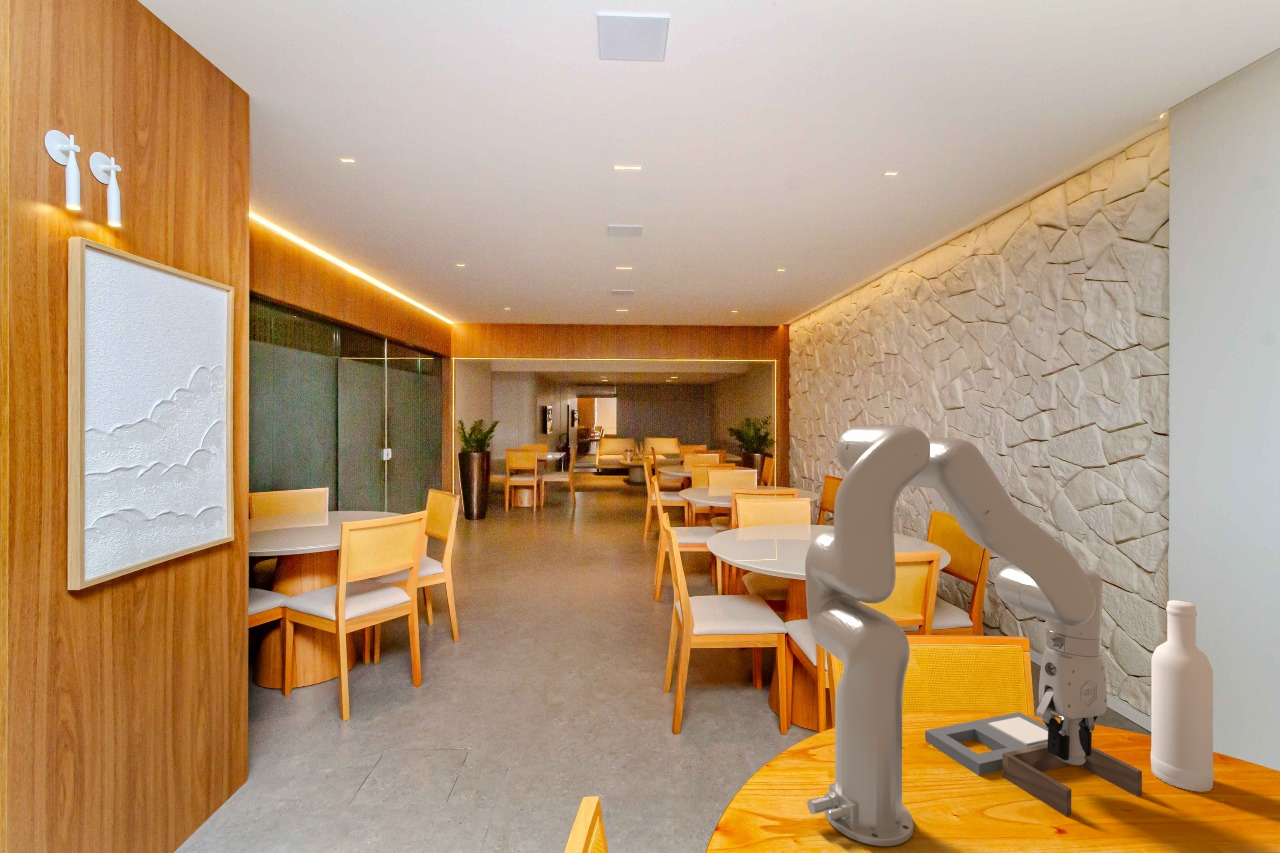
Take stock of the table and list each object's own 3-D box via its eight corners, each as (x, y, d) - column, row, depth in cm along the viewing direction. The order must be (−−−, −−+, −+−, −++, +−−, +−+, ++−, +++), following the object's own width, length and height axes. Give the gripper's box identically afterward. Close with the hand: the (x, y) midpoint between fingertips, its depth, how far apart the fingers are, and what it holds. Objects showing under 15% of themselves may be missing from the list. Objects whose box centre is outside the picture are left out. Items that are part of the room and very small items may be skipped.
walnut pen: (1066, 816, 91) (1066, 790, 91) (1002, 776, 102) (1002, 753, 102) (1141, 795, 97) (1142, 770, 97) (1073, 759, 107) (1073, 737, 107)
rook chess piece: (1091, 768, 96) (1092, 718, 96) (1060, 764, 97) (1061, 714, 97) (1077, 753, 100) (1078, 706, 100) (1047, 750, 101) (1048, 702, 101)
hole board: (979, 775, 102) (979, 762, 102) (925, 740, 113) (925, 728, 113) (1079, 752, 110) (1079, 739, 110) (1018, 721, 121) (1019, 710, 121)
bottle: (1204, 774, 103) (1204, 600, 103) (1221, 798, 96) (1221, 612, 96) (1144, 761, 107) (1144, 594, 107) (1157, 784, 100) (1157, 605, 100)
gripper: (1057, 655, 93) (1054, 773, 92) (1131, 647, 98) (1128, 759, 98) (1013, 639, 100) (1010, 749, 100) (1085, 632, 105) (1082, 736, 105)
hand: (1069, 752), depth 99 cm, fingers closed on rook chess piece, 4 cm apart
